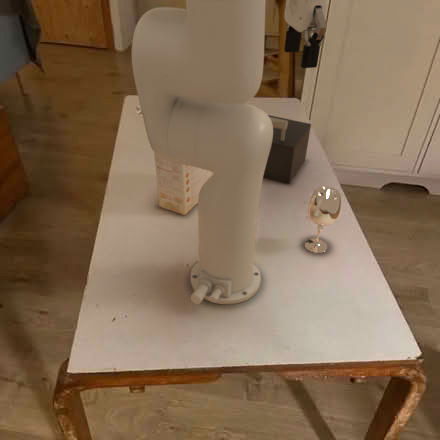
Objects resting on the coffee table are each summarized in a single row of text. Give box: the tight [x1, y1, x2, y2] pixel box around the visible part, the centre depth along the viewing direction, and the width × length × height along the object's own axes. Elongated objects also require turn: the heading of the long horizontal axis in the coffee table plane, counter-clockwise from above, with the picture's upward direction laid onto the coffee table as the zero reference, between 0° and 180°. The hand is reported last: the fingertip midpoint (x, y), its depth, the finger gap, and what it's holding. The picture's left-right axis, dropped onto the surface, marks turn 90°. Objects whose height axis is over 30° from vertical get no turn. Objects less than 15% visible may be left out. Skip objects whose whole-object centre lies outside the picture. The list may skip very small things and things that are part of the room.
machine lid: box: [267, 114, 312, 150], centre depth 102 cm, size 13×12×5 cm
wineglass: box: [304, 186, 342, 254], centre depth 84 cm, size 6×6×12 cm
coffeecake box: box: [153, 152, 214, 216], centre depth 94 cm, size 15×7×20 cm, turn 152°
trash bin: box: [263, 126, 312, 185], centre depth 107 cm, size 13×12×9 cm
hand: (299, 59), depth 91 cm, fingers open, 9 cm apart
